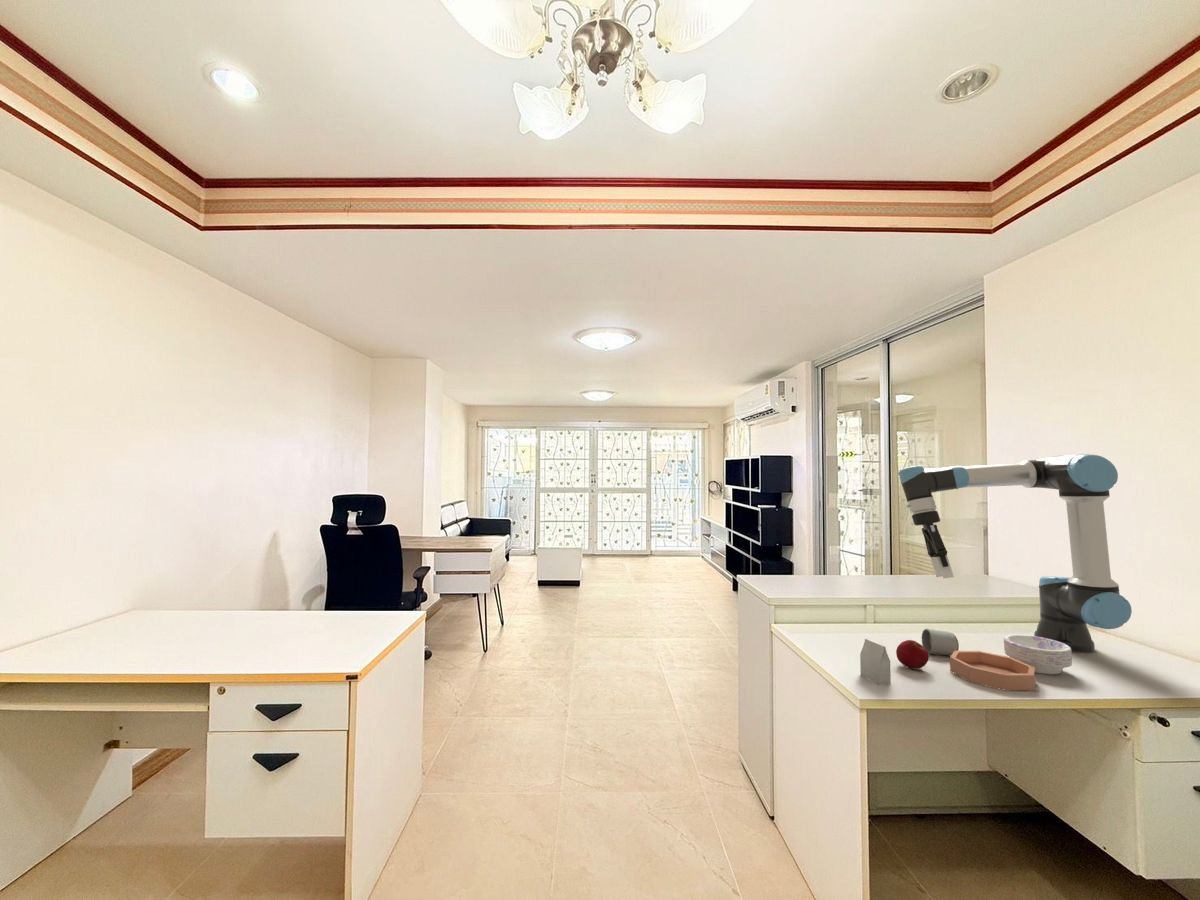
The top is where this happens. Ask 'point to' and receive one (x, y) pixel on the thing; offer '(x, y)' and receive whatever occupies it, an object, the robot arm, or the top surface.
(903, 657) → the apple
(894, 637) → the top surface
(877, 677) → the tea bag
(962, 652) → the terracotta bowl
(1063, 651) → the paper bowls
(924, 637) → the ceramic mug
